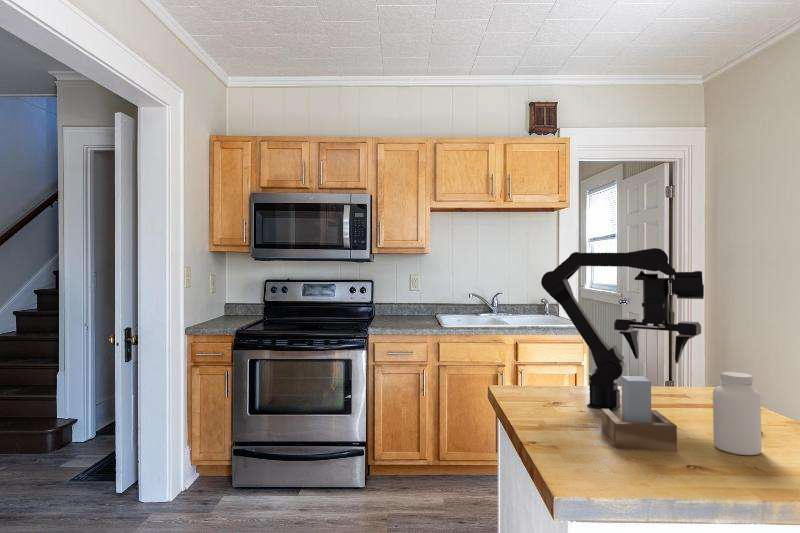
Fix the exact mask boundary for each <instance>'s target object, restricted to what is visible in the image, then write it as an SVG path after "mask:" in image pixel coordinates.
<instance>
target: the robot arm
mask: <svg viewBox="0 0 800 533" xmlns="http://www.w3.org/2000/svg"><path fill="white" fill-rule="evenodd" d="M581 267H622V268H623V267H627V268H633V269H637V270H640V272H639V273H638V274H637V276H635V277H634V281H642V303H641V307H642V317H643V318H642V319H641V321H637V318H633V317H620V318H616V319H615V320H614V322H613V330H614V331H619V334H622V335H623V337H624V338H625V340H626V342H627V344H628V346H629V347H630V350H631V352H632V354H633V356H634V358H635V359H636V360H637V359H639V356H640V355H639V354H640V352H639V343H638V335H639V334H638V333H639V329H640V330H650V331H651V330H654V331H664V332H665V331H666V332H677V333H678V335H676V336H675V345H674V346H675V347H674V348H675V349H674V360H675V364H679V362H680V359H681V357H682V354H683V351H684V349H685V346H686V344H687V342H688V341H689V340H691V339H693V338H695V337H696V336H699V335H701V334H702V325H701V323H700V322H699V321H685V320H684V321H679V322H677V323H675V316H676V313H675V311H674V310H672V309H671V307H670V306H671V304H670V299H669V296H670V295H669V293H670V292H669V289H670V288H669V281H671V295H672V296H673V295H674V296H676V299H677V300H678V299H679V300H680V299H681V300H704V298H705V296H704V295H705V292H704V291H705V284H704V281H703V280H704V279H703V271H701V270H694V271H676V268H675V267H672V266H671V265H670V264H669V257H668V254H667V253H666V252H665V251H664V250H663V249H661V248H657V247H651V248H646V249H639V250H634V251H628V252H579V251H574V252H572V253H570V254H569V256H568V257H567V258H566V259H565V260H563V261H562V262H561V263H560V264H559V265H557V267H555V268H554V269H553V270H549V271H547V272H545V273H544V274H543V275H542V277H541V281H540V284H541V286H542V288H543V289H544V291H545V292H546V293H548V295H549V296H551V298H553V300H555V301H556V302H557V303H558V304H559V305H560V306H561V307H562V310H564V311H565V314H566V315H567V317H568V318H569V320H570V321H571V323H572V324H573V326H574V327H575V330H577V332H578V334H579V335H580V337H581V338H582V339H583V341H584V342H585V344H586V345H587V347H588V349H589V350H590V352H591V356H592V358H593V361H594V364H595V366H596V369H594V371H593V372H592V373H591V375H590V376H589V380H590V381H589V388H588V389H589V402H588V403H587V404H586V406H587V407H588V408H589V407H590V408H595V409H598V410H599V409H600V410H602V409H609V410H610V411H611V412H612V411H614V410H616V409H618V408H619V407H620V406H621V390H620V389H619V387H618V386H619V384H618V383H615V382H614V381H616V380H618V379H619V378H621V377H622V376H623V375H622V374H623V372H624V370H625V362H624V359H625V357H624V355H622V354H621V353H620V352H619V350H618V347H617V345H616V344H613V345H612V346H610V345H608V343H607V342H605V341H604V339H603V338H602V336H601V335H600V334H599V332H598V330H597V329H596V327H595V326H594V324H593V323H592V322H591V320H590V318H589V317H588V316H587V314H586V313H585V311H584V310H583V308H582V307H581V305H580V304H579V302H578V301H577V299H576V297H575V296H574V293H573V290H572V286H571V285H570V281H569V279H571V278H572V277H573V276H574V275H575V273H576V272H577V271H578V270H579V269H580V268H581ZM643 270H644V271H649V272H650V271H651V272H660V273H663V275H665V276H673V277H659V274H658V273H645V272H644V271H643ZM648 324H649V325H648Z"/></svg>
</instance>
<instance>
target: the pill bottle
mask: <svg viewBox="0 0 800 533" xmlns="http://www.w3.org/2000/svg"><path fill="white" fill-rule="evenodd" d="M753 378H754V377H753V375H751V374H750V373H749V374H748V373H745V372H744V373H743V372H737V371H723V372H721V373H720V381H719V382H720V385H717V386H715V387H714V388H713V390H712V423H713V426H712V427H713V428H712V430H713V434H712V435H713V445H714V446H715V447H716V448H717V449H719V450H721V451H723V452H726V453H730V454H733V455H741V456H755V455H760V454H761V452H762V408H761V407H762V406H761V405H762V404H761V395H760V393H759V392H758V391H757V390H756V389H754V388H752V386H753V382H754V381H753V380H754V379H753Z"/></svg>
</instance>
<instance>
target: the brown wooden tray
mask: <svg viewBox="0 0 800 533" xmlns="http://www.w3.org/2000/svg"><path fill="white" fill-rule="evenodd" d="M677 427H678V426H677V424H675V423H674V422H672V421H671V420H670V419H668V418H667V417H666V416H665V415H664V414H662V413H660V412H659V411H658V410H656V409H651V423H646V422H622V420H620V419H619V417H618V416H617V415H615V413H613V412H612V411H610V410H609V409H601V432H602V434H603V435H604V436H605V437H606V438H607V439H608V441H609V442H610V443H611V444H612V445H613V446H614V447H615V449H616V450H641V451H642V450H643V451H644V450H645V451H669V452H671V451H672V452H676V451H678V432H677V431H678V428H677Z"/></svg>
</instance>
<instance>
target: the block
mask: <svg viewBox="0 0 800 533" xmlns="http://www.w3.org/2000/svg"><path fill="white" fill-rule="evenodd" d="M651 410H652V381H651V380H650V379H648V378H647V377H645V376H639V375H638V376H637V375H635V376H633V375H621V422H646V423H651Z"/></svg>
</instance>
